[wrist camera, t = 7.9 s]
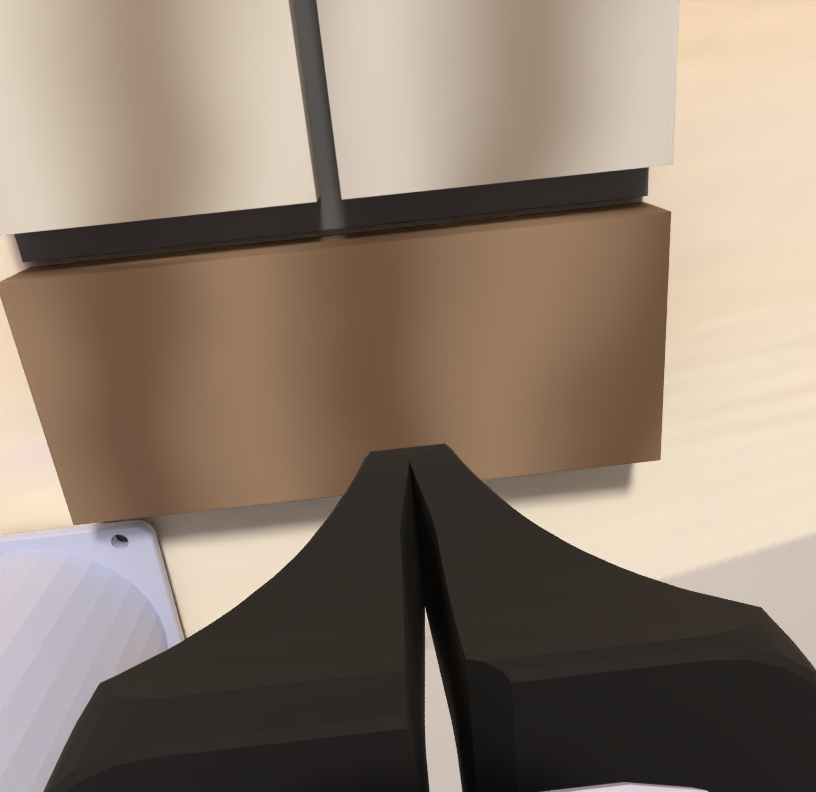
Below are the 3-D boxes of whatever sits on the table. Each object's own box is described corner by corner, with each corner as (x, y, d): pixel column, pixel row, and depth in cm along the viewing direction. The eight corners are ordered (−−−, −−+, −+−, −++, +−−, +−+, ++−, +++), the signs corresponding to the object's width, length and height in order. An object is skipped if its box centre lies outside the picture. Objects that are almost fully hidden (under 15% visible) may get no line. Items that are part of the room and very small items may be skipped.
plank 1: (10, 228, 18) (-19, 237, 17) (-85, -92, 16) (-128, -112, 14) (320, 195, 19) (316, 201, 17) (275, -128, 16) (267, -152, 15)
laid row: (97, 491, 22) (73, 525, 20) (30, 267, 19) (-4, 283, 17) (637, 431, 22) (660, 460, 20) (643, 202, 19) (670, 212, 18)
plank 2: (343, 193, 19) (341, 199, 17) (303, -132, 16) (296, -155, 15) (650, 160, 19) (673, 164, 17) (659, -168, 16) (686, -194, 15)
